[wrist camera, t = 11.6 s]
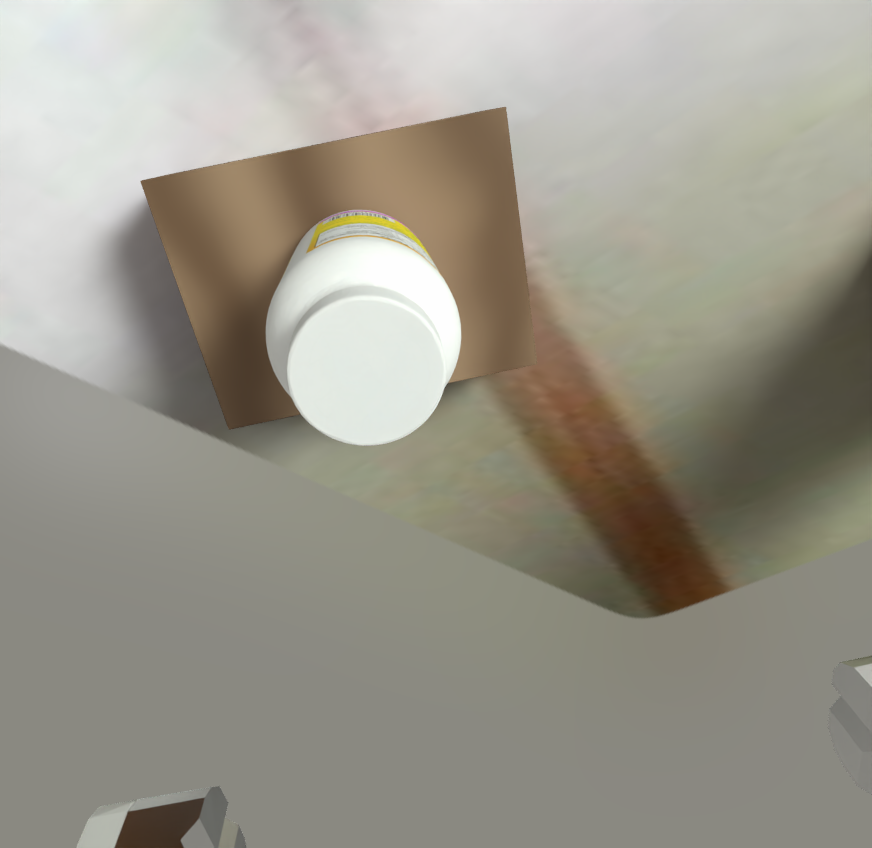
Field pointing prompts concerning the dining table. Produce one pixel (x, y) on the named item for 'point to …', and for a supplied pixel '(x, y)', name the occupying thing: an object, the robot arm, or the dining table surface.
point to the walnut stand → (330, 194)
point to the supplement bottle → (363, 329)
